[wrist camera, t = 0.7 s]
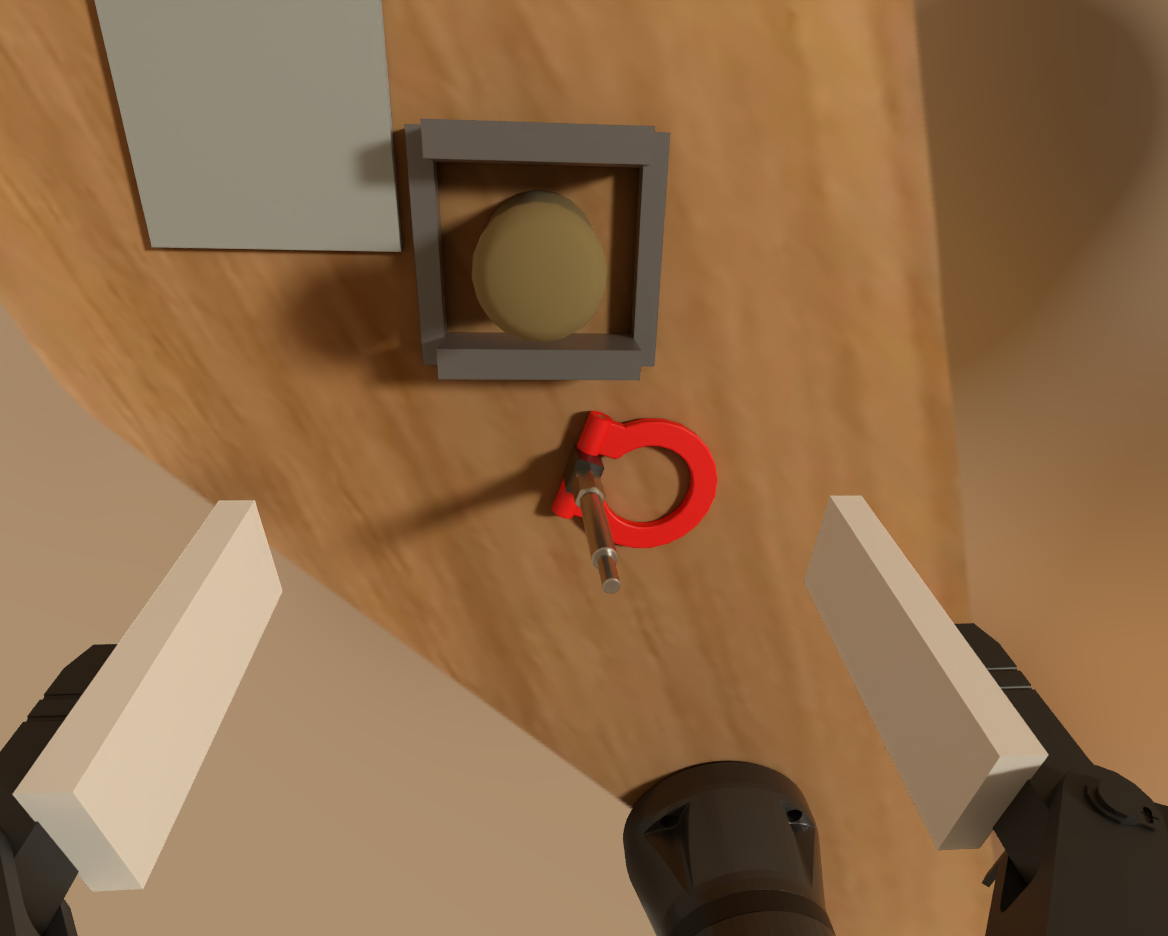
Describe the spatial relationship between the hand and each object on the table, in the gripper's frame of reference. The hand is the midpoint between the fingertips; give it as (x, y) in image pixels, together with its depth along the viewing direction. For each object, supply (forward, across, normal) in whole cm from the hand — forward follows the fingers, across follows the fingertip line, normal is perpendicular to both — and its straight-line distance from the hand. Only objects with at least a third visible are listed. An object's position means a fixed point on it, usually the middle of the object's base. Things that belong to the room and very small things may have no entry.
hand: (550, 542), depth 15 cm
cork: (+22, 0, -1) cm, 23 cm away
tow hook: (+20, -6, +12) cm, 24 cm away
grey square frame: (+22, 0, -1) cm, 22 cm away
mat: (+23, +13, -7) cm, 28 cm away
